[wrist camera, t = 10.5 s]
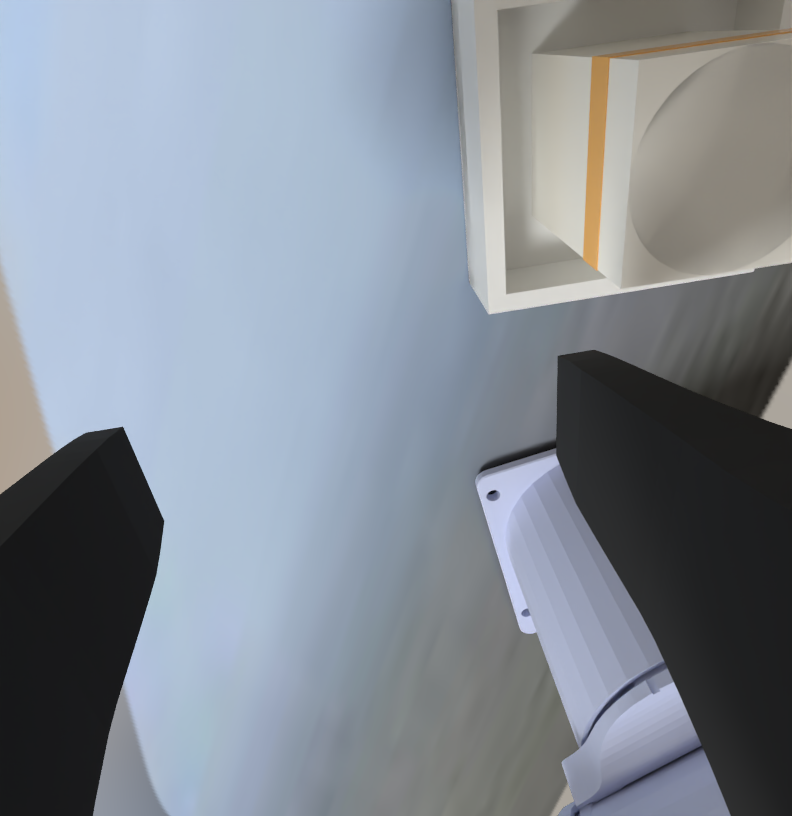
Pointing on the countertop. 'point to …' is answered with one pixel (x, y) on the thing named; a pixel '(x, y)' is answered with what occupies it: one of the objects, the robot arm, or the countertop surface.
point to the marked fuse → (667, 153)
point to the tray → (512, 128)
